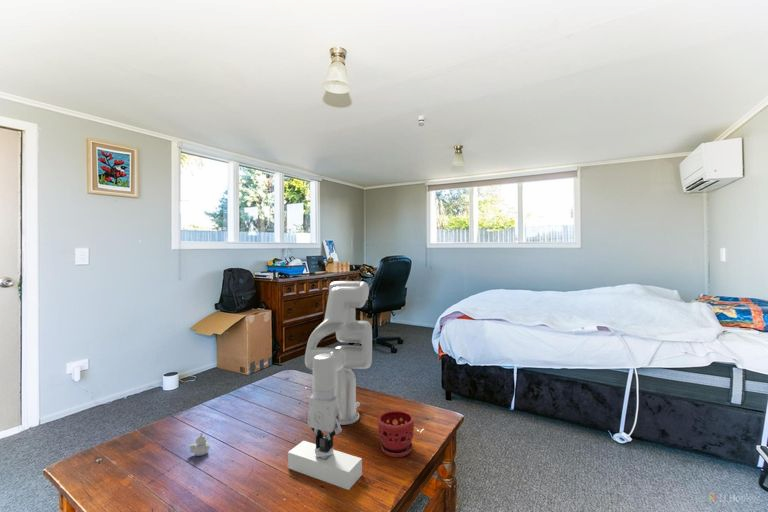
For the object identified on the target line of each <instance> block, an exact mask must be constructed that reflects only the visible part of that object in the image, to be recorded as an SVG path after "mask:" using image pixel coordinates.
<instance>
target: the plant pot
mask: <svg viewBox="0 0 768 512" xmlns="http://www.w3.org/2000/svg"><path fill="white" fill-rule="evenodd" d="M400 419H402V420H400ZM414 419H415V418H414V416H413V415H412V414H411V413H409V412H406V411H404V410H390V411H386V412H383V413H382V414H380V415H379V416H378V418H377V425H378V427H377V428H378V435H379V439H380V441H381V445H380V448H381V451H382V452H383V453H384V454H385V455H387V456H389V457H392V458H399V457H405V456H407V455H409V454H410V453H411V451H412V450H413V446H414V445H413V443H412V441H413V436H414V428H415V427H414V426H415V424H414V423H415V422H414ZM394 420H396V421H397V423H396V424H394V423H393V421H394Z"/></svg>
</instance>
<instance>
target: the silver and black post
mask: <svg viewBox="0 0 768 512" xmlns="http://www.w3.org/2000/svg"><path fill="white" fill-rule="evenodd" d="M326 439H327V434H323V435H321V436H320V437H319V448H318V449H315V455H316V456H317V457H320V459H323V460H327V459H328V458H329V456H331V455H332V454H333V450H334V446H333V447H332V448H331V449H330V450H329V451H328V452H326V451H325V440H326Z"/></svg>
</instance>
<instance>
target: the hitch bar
mask: <svg viewBox="0 0 768 512" xmlns="http://www.w3.org/2000/svg"><path fill="white" fill-rule="evenodd" d="M315 449H316V443H313V442H309V441H306V440H302V441H300V443H298V444H297V445H296V446H294V447H293V448H292V449H290V450H289V451H288V452H287V469H290V470H292V471H295V472H297V473H300V474H304V475H306V476H308V477H312V478H314V479H317V480H320V481H323V482H324V483H327V484H330V485H334V486H337V487H340V488H342V489H345V490H348V491H349V490H351V488H352V487H353V486H354V485H355V483H357V481H358V480H359V479H360V477H362V475H363V458H361V457H358V456H355V455H352V454H348V453H346V452H343V451H339V450H336V449H333V454H332V455H331V456H329V458H328V459H327V460H323V459H320V457H317V456H316V455H315Z"/></svg>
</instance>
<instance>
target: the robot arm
mask: <svg viewBox="0 0 768 512" xmlns="http://www.w3.org/2000/svg"><path fill="white" fill-rule="evenodd" d="M369 294H370V287H369V284H368V283H367V282H366V281H362V280H336V281H332V282H331V283H329V285H328V296H327V297H328V298H327V301H326V307H325V312H324V313H325V314H324V319H323V321H321V323H320V324H318V325H317V326H316V327H315V329H314V330H313V331H312V332H311V333H310V336H309V338H308V340H307V343H306V348H305V353H304V365H305V367H306V368H307V369H308V370H310V371H311V370H312V386H311V387H310V389H309V390H310V391H311V392H312V395H311V396H310V398H309V402H308V409H307V411H308V412H307V426H308V427H310V428H311V430H312V431H313V435H314V437H315V444H316V449H318V448H319V437H320V436H321V435H324V432H326V434H325V435H327V439H326V440H325V451H326V452H328V451H329V450H330V449H331V448H332V447H333V448H334V437H335V436H337V435H338V434H340V433H342V432H343V429H342V427H341V426H344V425H345V426H346V425H347V426H348V425H352V424H354V423H356V422H358V420H359V419H360V413H359V412H358V411H357V409H358V407H359V406H360V405H361V402H359V401H357V400H356V399H357V398H356V396H357V395H356V394H357V393H356V392H357V390H356V389H357V387H356V386H357V385H356V383H357V379H356V375H355V373H354V371H353V370H352V369H354V370H356V369H357V370H358V369H359V370H363V369H364V370H365V369H369V368H370V367H371V366H372V362H373V328H372V324H371V323H370V322H369V321H367V320H357V319H356V309H361V308H363V307H364V306H365V304H366V302H367V300H368V299H369ZM334 333H335V338H336V340H337V341H338V342H340V343H349V344H350V343H356V344H357V343H359V344H361V345H337V346H335V347H317V346H318V344H319V343H320V341H321V340H323V339H324V338H325V337H327V336H329V335H330V334H331V335H332V334H334Z"/></svg>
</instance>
